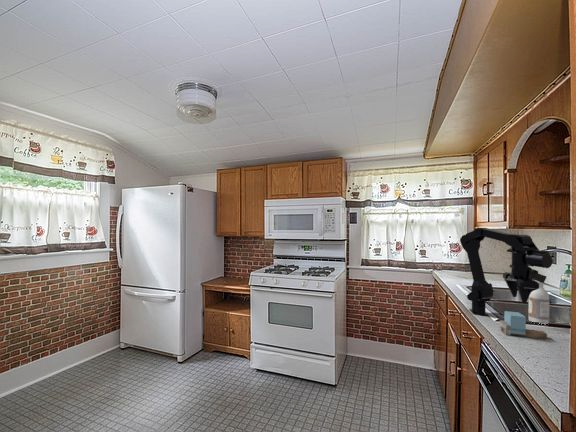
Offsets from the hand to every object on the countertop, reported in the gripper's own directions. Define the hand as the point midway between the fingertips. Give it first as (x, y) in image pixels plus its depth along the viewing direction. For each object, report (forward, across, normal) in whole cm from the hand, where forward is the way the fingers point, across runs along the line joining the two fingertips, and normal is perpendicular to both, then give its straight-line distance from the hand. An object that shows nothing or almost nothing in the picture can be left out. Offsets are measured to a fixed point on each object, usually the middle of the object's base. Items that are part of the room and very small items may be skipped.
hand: (519, 299), depth 118 cm
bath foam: (+13, +12, -12) cm, 21 cm away
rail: (+12, -8, +1) cm, 15 cm away
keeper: (+12, -8, +4) cm, 15 cm away
